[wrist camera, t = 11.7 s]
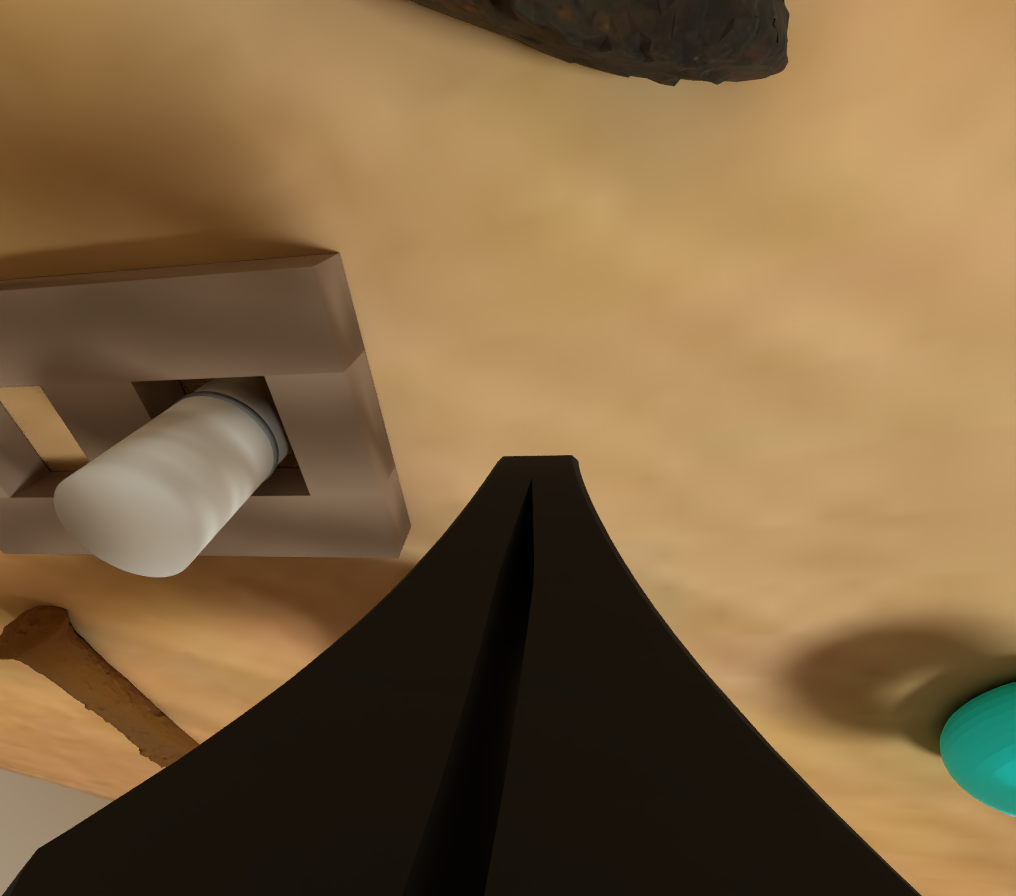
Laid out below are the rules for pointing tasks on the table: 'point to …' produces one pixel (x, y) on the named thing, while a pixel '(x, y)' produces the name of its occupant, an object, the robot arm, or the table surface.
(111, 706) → the primitive tool
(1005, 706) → the donuts
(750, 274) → the table surface
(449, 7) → the hand tool
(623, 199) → the table surface
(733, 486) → the table surface
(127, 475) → the peg
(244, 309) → the board
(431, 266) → the table surface
